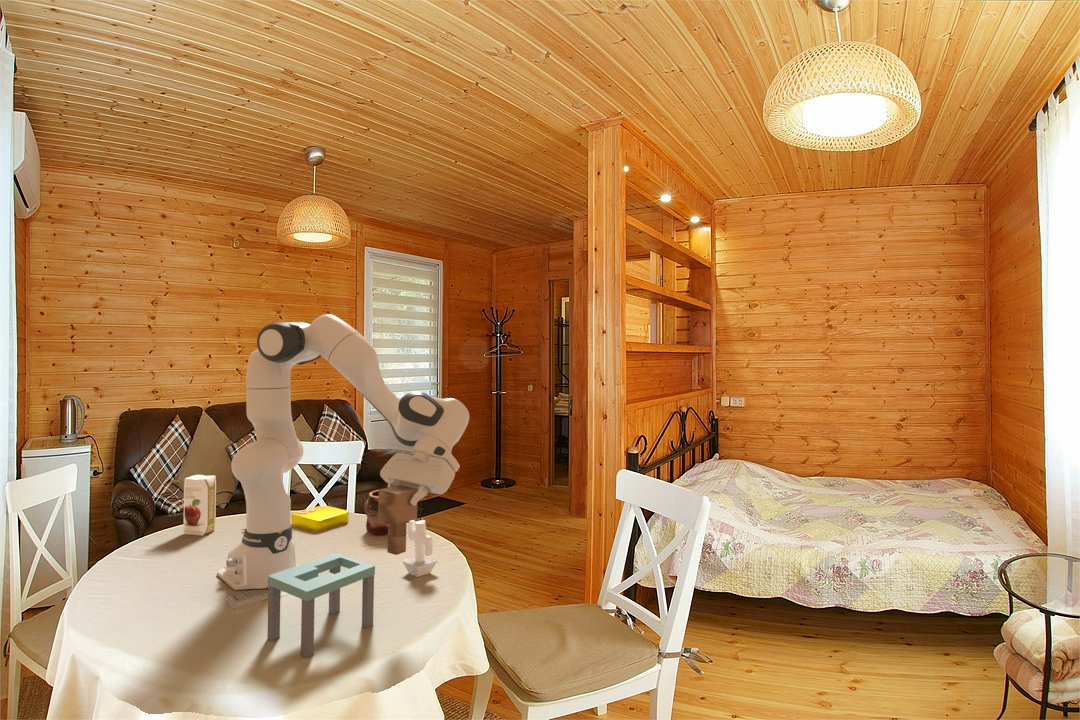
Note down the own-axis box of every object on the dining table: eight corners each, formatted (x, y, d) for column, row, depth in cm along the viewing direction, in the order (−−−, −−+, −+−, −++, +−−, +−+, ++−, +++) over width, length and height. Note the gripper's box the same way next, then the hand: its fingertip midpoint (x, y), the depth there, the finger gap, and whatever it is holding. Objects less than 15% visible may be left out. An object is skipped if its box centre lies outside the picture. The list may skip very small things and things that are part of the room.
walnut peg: (376, 552, 139) (378, 489, 139) (397, 545, 145) (398, 484, 144) (395, 558, 136) (397, 494, 135) (416, 551, 141) (417, 489, 141)
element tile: (316, 533, 203) (317, 519, 203) (288, 525, 210) (288, 512, 210) (350, 522, 216) (351, 509, 216) (323, 515, 223) (323, 503, 223)
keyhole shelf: (335, 609, 145) (336, 552, 145) (373, 625, 138) (374, 565, 137) (266, 638, 130) (267, 575, 130) (305, 658, 122) (307, 591, 122)
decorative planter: (413, 537, 201) (414, 496, 200) (381, 544, 193) (381, 502, 192) (385, 522, 216) (386, 485, 215) (354, 529, 207) (354, 489, 207)
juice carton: (196, 528, 204) (196, 473, 203) (218, 529, 203) (219, 475, 202) (179, 535, 196) (180, 478, 196) (203, 536, 195) (203, 479, 195)
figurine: (419, 581, 164) (420, 527, 163) (399, 572, 170) (400, 520, 170) (439, 574, 169) (441, 522, 169) (419, 565, 175) (420, 515, 175)
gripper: (393, 441, 152) (362, 486, 144) (453, 452, 141) (423, 501, 133) (406, 456, 156) (376, 500, 148) (465, 467, 145) (436, 516, 137)
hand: (398, 501), depth 140 cm, fingers closed on walnut peg, 6 cm apart
